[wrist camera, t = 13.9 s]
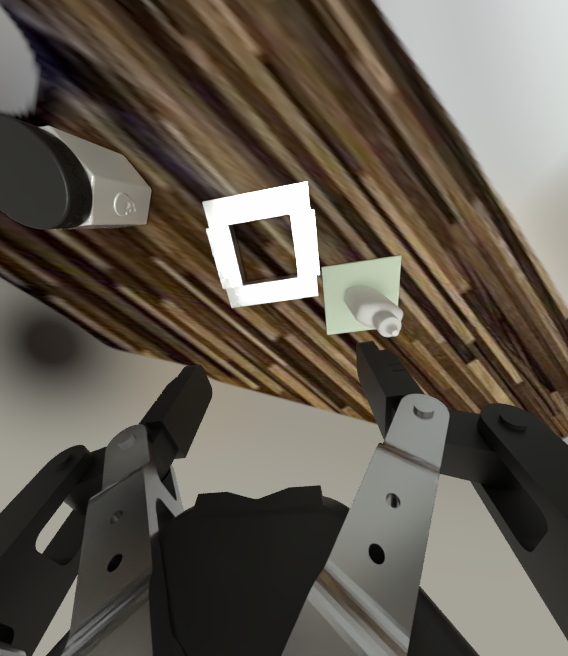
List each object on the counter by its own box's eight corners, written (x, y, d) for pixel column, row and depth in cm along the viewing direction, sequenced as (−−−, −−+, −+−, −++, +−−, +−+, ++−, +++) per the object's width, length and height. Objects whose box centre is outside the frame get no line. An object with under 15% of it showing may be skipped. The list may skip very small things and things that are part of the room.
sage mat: (321, 266, 32) (321, 267, 31) (399, 255, 31) (401, 255, 30) (326, 333, 37) (327, 334, 36) (394, 324, 35) (396, 326, 35)
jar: (146, 240, 32) (69, 249, 21) (88, 214, 30) (-26, 209, 20) (157, 171, 28) (69, 138, 17) (91, 139, 27) (-48, 82, 16)
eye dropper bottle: (364, 318, 35) (396, 361, 24) (338, 297, 33) (360, 332, 22) (386, 297, 33) (431, 333, 22) (360, 274, 32) (393, 301, 21)
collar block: (205, 204, 29) (198, 202, 27) (310, 184, 28) (311, 180, 25) (232, 302, 35) (228, 308, 33) (320, 290, 34) (321, 295, 31)
